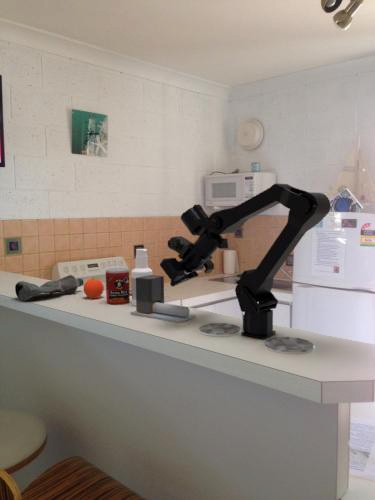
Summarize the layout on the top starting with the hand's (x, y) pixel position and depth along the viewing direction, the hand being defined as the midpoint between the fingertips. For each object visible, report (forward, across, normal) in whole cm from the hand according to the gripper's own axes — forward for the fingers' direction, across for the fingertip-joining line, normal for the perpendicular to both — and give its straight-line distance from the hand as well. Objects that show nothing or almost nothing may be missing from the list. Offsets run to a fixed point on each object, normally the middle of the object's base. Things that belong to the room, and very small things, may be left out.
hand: (171, 285), depth 132 cm
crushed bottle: (+46, -1, -32) cm, 56 cm away
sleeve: (+12, 0, +1) cm, 12 cm away
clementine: (+34, -7, -22) cm, 41 cm away
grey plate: (+9, 0, +4) cm, 10 cm away
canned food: (+26, -6, -13) cm, 30 cm away
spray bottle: (+20, -8, -6) cm, 22 cm away
